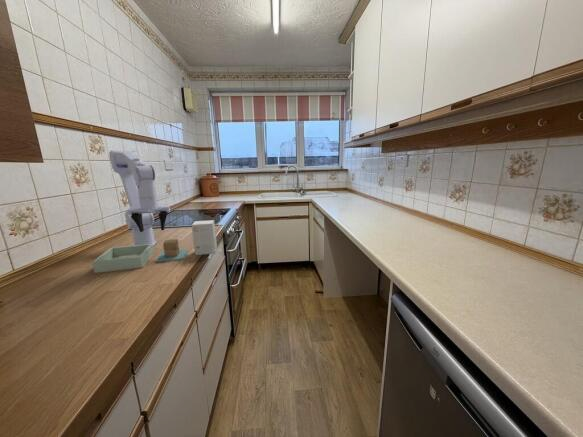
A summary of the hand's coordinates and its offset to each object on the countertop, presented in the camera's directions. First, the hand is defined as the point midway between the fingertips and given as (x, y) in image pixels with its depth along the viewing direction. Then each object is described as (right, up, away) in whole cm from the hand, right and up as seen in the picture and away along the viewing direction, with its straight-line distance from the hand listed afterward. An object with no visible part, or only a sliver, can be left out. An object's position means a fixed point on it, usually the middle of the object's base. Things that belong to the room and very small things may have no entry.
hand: (152, 230), depth 98 cm
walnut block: (+8, -10, 0) cm, 13 cm away
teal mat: (+8, -10, 0) cm, 13 cm away
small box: (+20, -9, +5) cm, 23 cm away
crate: (-7, -12, -4) cm, 15 cm away
